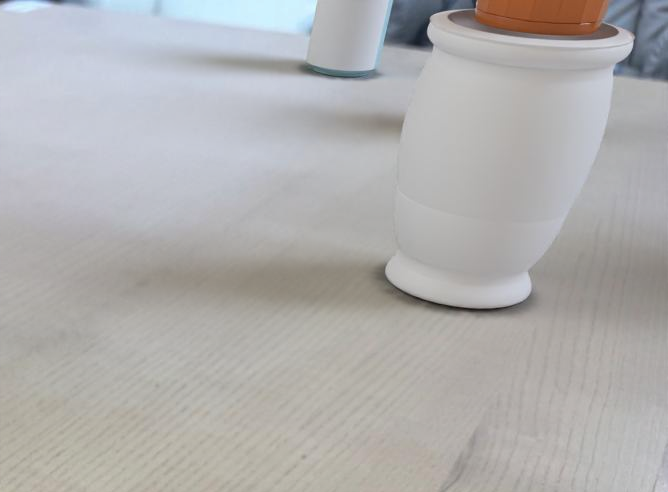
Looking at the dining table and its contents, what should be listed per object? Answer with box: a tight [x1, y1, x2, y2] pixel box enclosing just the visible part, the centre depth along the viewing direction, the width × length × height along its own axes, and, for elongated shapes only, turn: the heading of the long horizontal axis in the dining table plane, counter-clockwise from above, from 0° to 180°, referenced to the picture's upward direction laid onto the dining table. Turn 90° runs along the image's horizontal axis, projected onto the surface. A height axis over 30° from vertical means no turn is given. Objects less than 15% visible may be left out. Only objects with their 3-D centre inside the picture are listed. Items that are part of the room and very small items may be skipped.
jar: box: [384, 8, 636, 309], centre depth 70 cm, size 11×10×15 cm
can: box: [305, 0, 394, 78], centre depth 118 cm, size 7×7×12 cm
